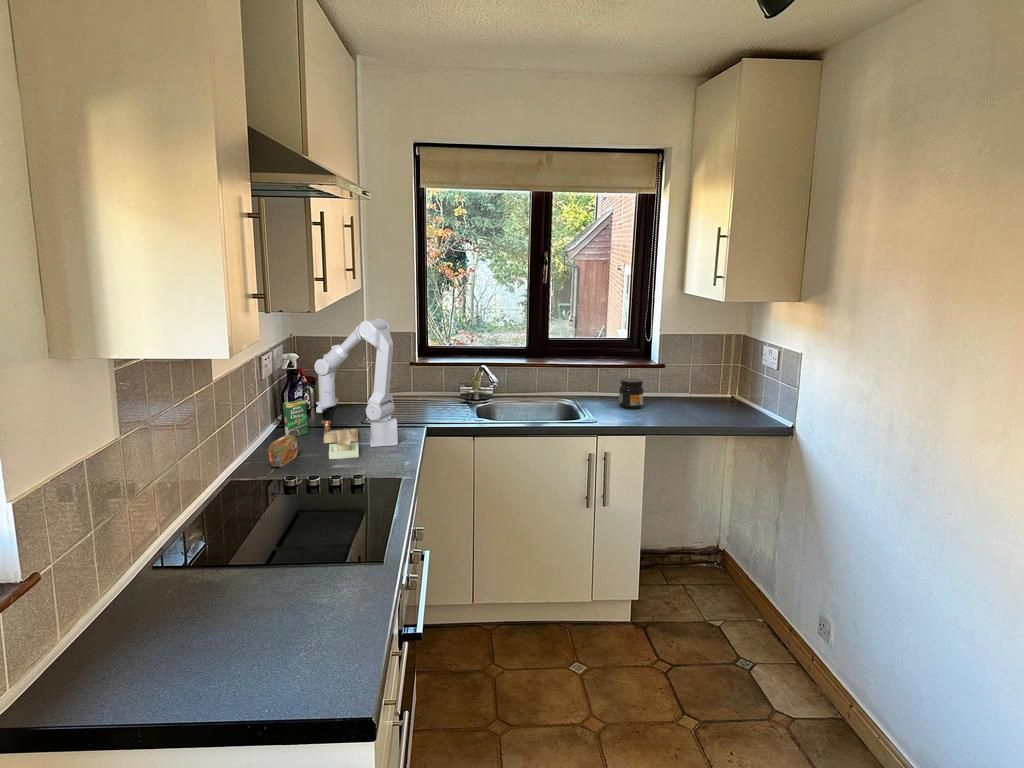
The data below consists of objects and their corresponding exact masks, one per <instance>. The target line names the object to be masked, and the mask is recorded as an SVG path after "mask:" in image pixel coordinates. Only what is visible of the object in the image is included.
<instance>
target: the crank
mask: <svg viewBox="0 0 1024 768" xmlns="http://www.w3.org/2000/svg"><path fill="white" fill-rule="evenodd" d="M320 422H321V425H322V424H323V427H324V428H323V429H324V431H325V432H327V434H337V432H336V431H347V430H349V433H350V434H351V429H352V428H344V429H334V430H333V429H332V430H331V427H330V424H331V420H324V419H323V420H321V421H320Z"/></svg>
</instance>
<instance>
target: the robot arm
mask: <svg viewBox="0 0 1024 768" xmlns="http://www.w3.org/2000/svg"><path fill="white" fill-rule="evenodd" d="M390 330H391V326H390V325H389V324H388V323H387V321H386V320H384V319H383V318H380V317H379V318H376V319H371V320H364V321H362V322H361V323H360V324H359V325H357V326H356V327H355V329H354V330H353V331H352V332H351V333H350V335H348V337H346V339H345V340H344V341H343V342H342V343H341V344H335V345H332V346H331V349H330V350H329V352H327V353H325V354H324V355H323V358H319V359H316V361H315V363H314V370H315V373H316V374H317V375H318V376H317V377H318V378H317V379H318V381H317V382H318V401H316V404H315V405H317V406H316V408H315V409H316V411H315V412H316V413H319V414H321V416H322V418H323V420H331V424H330V428H332V427H333V420H334V416H335V413H336V411H337V407H336V406H337V404H339V397H336V382H335V380H336V379H335V377H336V372H337V371H338V367H339V366H340V365H341V364H342V363H343V362H344V361H345V360H346V359H347V358H348V357H349V351H350V350H352V349H353V348H354V347H355V346H356V345H357V344H359V343H360V342H361V341H362V340H364V341H366V342H368V344H371V345H372V346H374V348H375V349H376V353H375V354H376V357H375V369H374V379H373V380H374V381H373V392H372V394H371V396H370V397H369V399H368V404H367V406H366V408H365V414H366V417H367V418H368V419H369V422H370V439H369V446H370V447H371V448H373V447H374V448H377V447H378V448H379V447H388V446H389V447H391V446H398V445H399V433H398V420H397V418H392V414H393V413H394V412H395V404H394V397H393V395H392V394H391V393H390V388H391V378H392V377H391V376H392V367H393V366H392V365H393V353H394V342H393V338H392V334H391V331H390Z"/></svg>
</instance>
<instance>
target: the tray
mask: <svg viewBox="0 0 1024 768" xmlns="http://www.w3.org/2000/svg"><path fill="white" fill-rule="evenodd" d="M328 444H329V445H328V446H329V448H328V459H329V460H334V459H335V460H336V459H339V460H340V459H351V458H352V459H353V458H359V457H360V454H359V453H360V452H359V450H360V449H359V442H350V449H351V451H338V450H337V443H328Z"/></svg>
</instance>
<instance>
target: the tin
mask: <svg viewBox="0 0 1024 768" xmlns="http://www.w3.org/2000/svg"><path fill="white" fill-rule="evenodd" d="M298 453H299V442H298V438H297V436H296V437H295V436H294V435H285V434H284V435H283V436H281V437H279V438H278V439H276V440H274V441H272V442H271V443H270V445H269V446H268V449H267V455H268V462H269V465H270V466H272V467H275V468H277V467H279V468H282V466H283V467H284V466H286V465H287V464H289V463H291V462H292V461H293V460H295V459H296V458H297V457H298ZM290 461H291V462H290Z"/></svg>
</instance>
